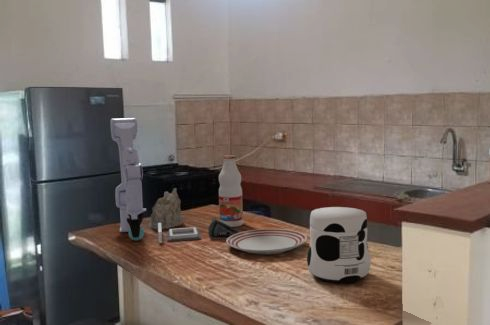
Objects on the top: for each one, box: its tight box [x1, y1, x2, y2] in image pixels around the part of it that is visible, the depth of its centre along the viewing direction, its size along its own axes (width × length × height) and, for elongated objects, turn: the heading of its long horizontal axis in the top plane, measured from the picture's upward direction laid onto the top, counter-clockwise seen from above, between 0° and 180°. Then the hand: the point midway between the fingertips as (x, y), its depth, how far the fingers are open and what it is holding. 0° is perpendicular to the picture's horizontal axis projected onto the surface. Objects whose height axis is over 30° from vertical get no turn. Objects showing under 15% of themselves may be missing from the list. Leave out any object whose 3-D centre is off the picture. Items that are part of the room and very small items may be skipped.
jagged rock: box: [148, 187, 184, 230], centre depth 202 cm, size 16×16×15 cm
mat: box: [166, 226, 202, 243], centre depth 183 cm, size 12×12×2 cm
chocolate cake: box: [207, 217, 241, 240], centre depth 181 cm, size 10×7×12 cm
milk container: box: [306, 206, 371, 283], centre depth 136 cm, size 17×17×18 cm
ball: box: [128, 226, 145, 242], centre depth 178 cm, size 6×6×6 cm
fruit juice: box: [218, 154, 244, 228], centre depth 196 cm, size 9×9×28 cm
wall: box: [157, 223, 163, 244], centre depth 181 cm, size 14×1×4 cm, turn 10°
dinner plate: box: [225, 228, 308, 255], centre depth 167 cm, size 27×27×3 cm
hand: (136, 234), depth 178 cm, fingers open, 7 cm apart
